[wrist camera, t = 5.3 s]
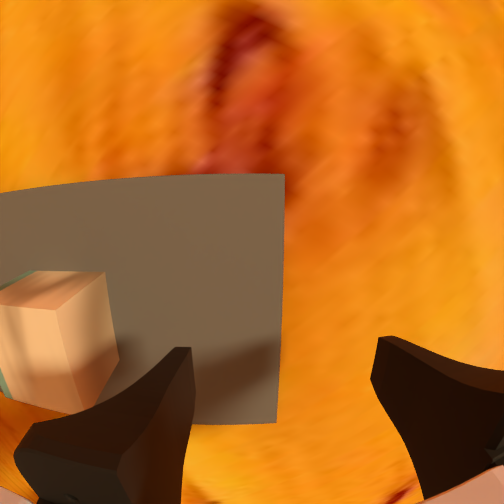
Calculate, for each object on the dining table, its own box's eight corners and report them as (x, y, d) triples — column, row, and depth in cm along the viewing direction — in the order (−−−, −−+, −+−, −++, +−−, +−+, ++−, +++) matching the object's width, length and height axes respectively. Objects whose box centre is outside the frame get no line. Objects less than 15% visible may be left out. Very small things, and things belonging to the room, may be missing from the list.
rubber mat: (-9, 383, 16) (-13, 387, 15) (-50, 203, 13) (-56, 204, 12) (274, 416, 17) (276, 422, 17) (282, 174, 14) (284, 174, 14)
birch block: (119, 359, 15) (47, 351, 15) (105, 271, 14) (29, 270, 14) (87, 417, 10) (5, 396, 10) (55, 310, 9) (-28, 301, 9)
